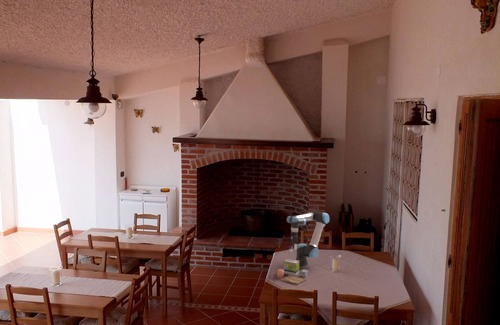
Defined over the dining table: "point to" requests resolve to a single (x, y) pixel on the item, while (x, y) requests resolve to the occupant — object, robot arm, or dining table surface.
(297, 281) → the slatted wooden board
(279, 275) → the terracotta jar
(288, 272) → the tea box
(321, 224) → the robot arm
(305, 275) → the slate block
